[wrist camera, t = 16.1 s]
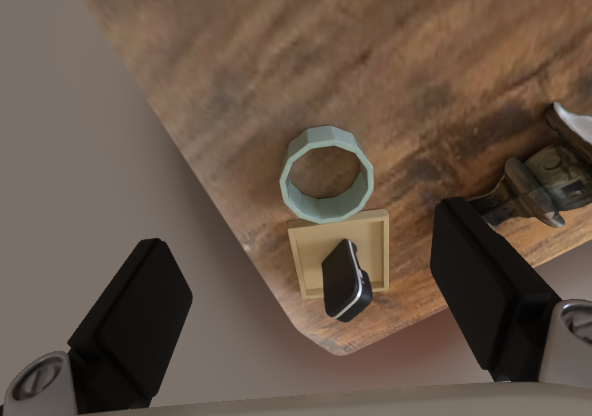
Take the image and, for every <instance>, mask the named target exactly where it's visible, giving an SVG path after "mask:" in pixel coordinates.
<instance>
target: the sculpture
mask: <svg viewBox="0 0 592 416" xmlns="http://www.w3.org/2000/svg"><path fill="white" fill-rule="evenodd" d="M544 118H545V123H546V125H547V126H548V127H549V128H551V129H552V130H554V131H556V132H558V135H559V141H558V142H556V143H554V144H551V145H549V146H547V147H545V148H544V149H542V150H541V151H539V152H538V153H536V154H535V155H533V156H532V157H530V158H529V159H528V160H527V161H526V162H525V163H521V162H520V161H519V159H518V158H517V157H516V156H512V157H510V158H509V159H507V161H506V163H505V169H504V174H503V176H502V178H501V180H500V181H499V183H498V184H497V186H496V187H495V189H493V190H492V191H491V192H490V193H488V194H486V195H482V196H478V197H473V198H469V199H466V201H467V202H468V203H469V204H470V205H471V206H472V207H473V208H474V209H475V210H476V211H477V212H478V214H479V215H480V216H481V217H482V218H483V219H484V220H485V221H486V222H487V223H488V224H489V225H490V227H491V228H492V229H493V230H495V229H496V228H497V227H498V226H500V224H501V223H502V222H504V221H506V220H508V219H510V218H516V217H523V218H530V217H536V218H537V219H539V220H540V221H542V222H543V223H545V224H547V225H549V226H551V227H555V228H558V227H562V226H563V225H564V224H565V221H564V220H563V218H562V217H561V215H560V214H559V211H567V210H572V209H576V208H581V207H583V206H586V205H588V204H590V203H592V117H590V116H584V115H577V114H574V113H571V112H570V111H568V110H567V109H566V108H565V107H564V106H563V105H562V104H561V103H558V102H554V103H553V104H552V105H551V106H550V107H549V108H548V109H547V111H546V113H545V116H544Z"/></svg>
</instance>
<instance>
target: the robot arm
mask: <svg viewBox="0 0 592 416" xmlns="http://www.w3.org/2000/svg"><path fill="white" fill-rule="evenodd" d="M430 269H431V273H432V275H433V277H434V279H435V281H436V283H437V285H438V287H439V289H440V291H441V293H442V295H443V297H444V299H445V300H446V302H447V304H448V306H449V308H450V310H451V312H452V314H453V316H454V318H455V320H456V321H457V323H458V325H459V327H460V329H461V331H462V333H463V335H464V337H465V339H466V340H467V343H468V345H469V346H470V348H471V350H472V352H473V354H474V356H475V358H476V360H477V362H478V364H479V365H480V367H481V368H482V369H483V370H488V371H489V373H490V375H491V376H492V378H493V380H494V382H489V383H470V384H452V385H434V386H419V387H406V388H392V389H379V390H366V391H353V392H352V391H351V392H337V393H325V394H311V395H298V396H287V397H286V396H285V397H273V398H260V399H247V400H235V401H222V402H211V403H198V404H186V405H175V406H163V407H151V408H149V405H150V402H151V400H152V397H154V396H156V394H157V393H158V391H159V388H160V386H161V383H162V380H163V378H164V375H165V373H166V370H167V367H168V365H169V362H170V359H171V357H172V354H173V351H174V349H175V346H176V343H177V341H178V338H179V335H180V333H181V330H182V328H183V325H184V322H185V320H186V317H187V314H188V312H189V309H190V306H191V304H192V299H193V297H192V292H191V290H190V288H189V286H188V284H187V282H186V280H185V278H184V276H183V274H182V272H181V270H180V269H179V267H178V265H177V263H176V261H175V259H174V257H173V255H172V253H171V251H170V249H169V247H168V245H167V244H166V242H164V241H161V239H159V238H153V239H145V240H141V241H140V242H139V243H138V244H137V246H136V247H135V249H134V250H133V251H132V253H131V254H130V255H129V257H128V258H127V260H126V261H125V262H124V264H123V265H122V267H121V268H120V269H119V271H118V272H117V274H116V275H115V276H114V278H113V279H112V281H111V282H110V283H109V285H108V286H107V287H106V289H105V290H104V292H103V293H102V295H101V296H100V297H99V299H98V300H97V301H96V303H95V304H94V306H93V307H92V308H91V310H90V311H89V313H88V314H87V315H86V317H85V318H84V320H83V321H82V322H81V324H80V325H79V327H78V328H77V329H76V331H75V332H74V334H73V335H72V336H71V338H70V339H69V341H68V342H67V343H68V345H69V346H70V347H71V349H70V351H69V352H68V353H65V352H63V351H54V352H51V353H48V354H45V355H43V356H41V357H39V358H37V359H36V360H35V361H33V362H32V363H30V364H29V365H27V366H26V367H25V368H24V369H23V370H22V371H21V372H20V373H19V374H18V375H17V376H16V377H15V378H14V379H13V381H12V382H11V383H10V385H9V387H8V389H7V391H6V393H5V397H4V404H3V405H2V406H0V416H592V302H591V301H587V300H581V299H570V300H562V299H561V298H560V297H559V296H558V295H557V294H556V293H555V291H554V290H553V289H552V288H551V287H550V286H549V285H548V284H547V283H546V282H545V281H544V280H543V279H542V278H541V277H540V275H538V273H537V272H536V271H535V270H534V269H533V268H532V267H531V266H530V265H529V264H528V263H527V262H526V261H525V260H524V258H523V257H522V256H521V255H520V254H519V253H518V252H517V251H516V250H515V249H514V248H513V247H512V246H511V245H510V244H509V242H508V241H507V240H506V239H505V238H504V237H503V236H501V235H500V234H498V233H496V232H495V231H494V230H493V229H492V228H491V227H490V225H489V224H488V223H487V222H486V221H485V220H484V219H483V218H482V217H481V216H480V215H479V214H478V212H477V211H476V210H475V209H474V208H473V207H472V206H471V205H470V204H469V203H468V202H467V201H466V199H465V198H463V197H461V196H460V197H452V198H445V199H442V201H441V204H437V205H436V207H435V216H434V227H433V238H432V248H431V259H430ZM500 381H511V382H500ZM129 408H130V409H129Z"/></svg>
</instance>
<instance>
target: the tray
mask: <svg viewBox="0 0 592 416" xmlns="http://www.w3.org/2000/svg"><path fill="white" fill-rule="evenodd" d="M287 230H288V234H289V239H290V244H291V248H292V253H293V257H294V262H295V267H296V271H297V276H298V280H299V285H300V290H301V294H302V299H313V298H322V297H324V293H323V275H322V266H321V263H322V262H323V261H324V260H325V259H326V257H327V256H328V255H329V254H330V253H331V252H332V251H333V250H334V249H335V248H336V247H337V246H338V245H339V244H340V243H341V242H342V241H343V240H344V239H347V240H350V241H351V242H352V243H354V244H355V245H356V246H357V252H356V256H357V259H358V262H359V265H360V268H361V269H362V270H364V271H365V272H367V273H368V276H369V279H370V283H371V287H372V292H378V291H386V290H389V215H388V213H387V211H386V209H378V210H370V211H363V212H357V213H355V214H353V215H352V216H350V217H349V218H347V219H345V220H344V221H341V222H333V223H325V224H318V223H315V222H312V221H308V220H305V219H301V220H294V221H288V227H287Z"/></svg>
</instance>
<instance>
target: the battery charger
mask: <svg viewBox="0 0 592 416" xmlns="http://www.w3.org/2000/svg"><path fill="white" fill-rule="evenodd" d="M356 252H357V246H356V245H355V244H354V243H352V242H351V241H350V240H347V239H344V240H343V241H342V242H341V243H340V244H339V245H338V246H337V247H336V248H335V249H334V250H333V251H332V252H331V253H330V254H329V255H328V256H327V257H326V259H325V260H324V261H323V262H322V263H321V266H322V275H323V293H324V303H325V310H326V313H327V315H329V316H330V317H331V318H333V319H337V320H339V321H342V322H349V321H351V320H352V319H353V318H354V317H356V316H357V315H358V314H359V313H360V312H362V311H363V310H364V309H365V308H366V307H367V306H368V305H369V304H370V303H371V301H372V299H373V293H372V287H371V283H370V279H369V276H368V273H367V272H365V271H364V270H362V269H361V268H360V265H359V262H358V259H357V256H356Z"/></svg>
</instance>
